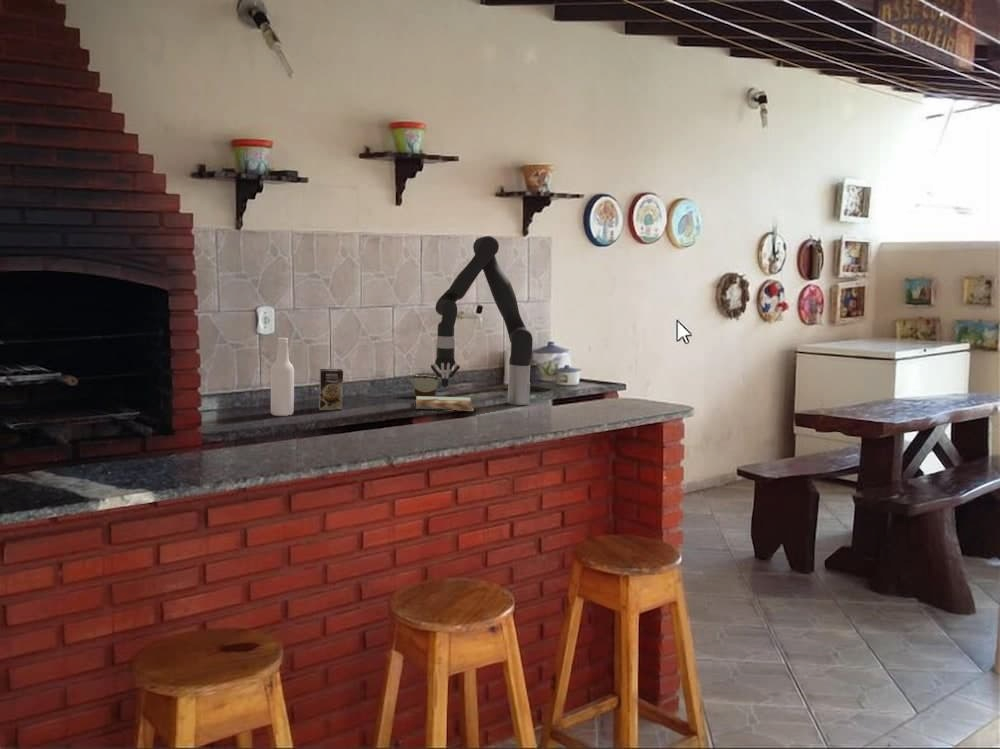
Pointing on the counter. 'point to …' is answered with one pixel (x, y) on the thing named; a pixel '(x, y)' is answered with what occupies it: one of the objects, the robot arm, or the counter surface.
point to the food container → (425, 384)
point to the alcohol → (282, 382)
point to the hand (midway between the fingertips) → (444, 386)
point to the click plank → (442, 398)
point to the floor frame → (446, 404)
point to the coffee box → (330, 389)
